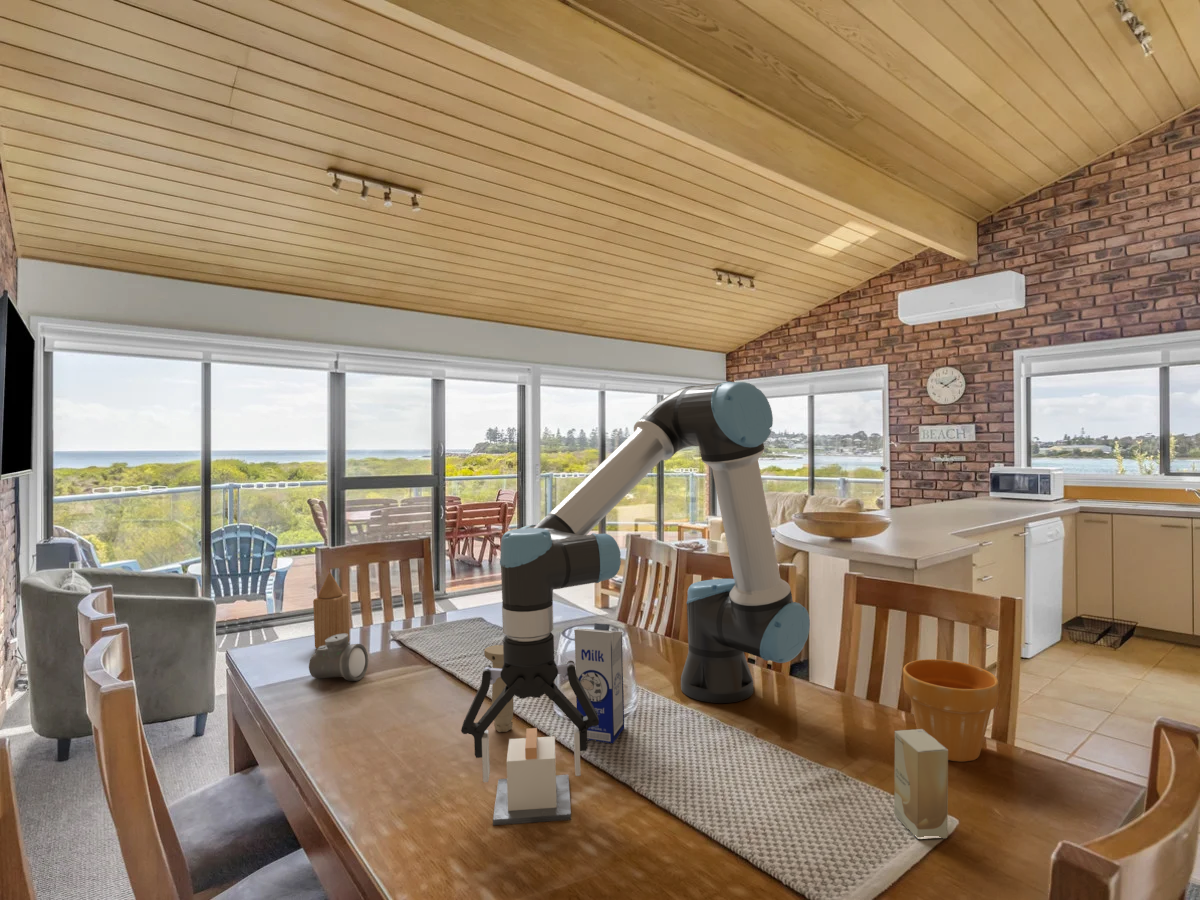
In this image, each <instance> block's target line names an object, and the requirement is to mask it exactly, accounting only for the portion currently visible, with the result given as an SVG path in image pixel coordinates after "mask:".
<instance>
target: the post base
mask: <svg viewBox="0 0 1200 900" xmlns="http://www.w3.org/2000/svg"><path fill="white" fill-rule="evenodd" d="M569 777H570V775H569V774H556V802H557V807H556V808H541V809H527V810H513V811H508V794H507V778H498V781H497V787H496V795H495V803H494V809H493V816H492V817H493V818H492V826H502V825H505V826H506V825H514V824H515V825H516V824H519V825H520V824H528V823H531V824H533V823H545V822H559V821H570V820H572V812H571V811H572V810H571V796H570V795H571V794H570V781H569V780H570V778H569Z"/></svg>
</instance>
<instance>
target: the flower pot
mask: <svg viewBox="0 0 1200 900" xmlns="http://www.w3.org/2000/svg"><path fill="white" fill-rule="evenodd" d="M902 671H903V672H902V677H903V678H902V681H903V690H904V693H905V694H906V695H907V696H908V697H909V699H910V703H911V708H912V712H913V716H914V721H915V727H916V729H923V730H924V731H925V732H927V733H928V734H929V735H930V736H932V737H933V738H935V739H936V740H937V741H938V742H939V743H940V744H941V745H943V746H944V747H945V748H946V749H948V761H952V762H959V763H960V762H961V763H962V762H970V761H976V759H978V758H979V757H980V754H981V751H982V747H983V744H984V740H985V735H986V732H987V728H988V724H989V719H990V716H991V713H992V711H993V710H994V709H995V708H996V707H997V706H998V704H999V703H998V702H999V685H1000V683H999V682H1000V681H999V679H998V677H997V676H995V674H993V673H992V672H990V671H988V670H986V669H984V668H982V667H979V666H976V665H974V664H969V663H964V662H961V661H955V660H948V659H938V658H937V659H936V658H935V659H933V658H932V659H927V658H926V659H918V660H913V661H910V662H908V663H906V664H905V665H904V666H903V668H902Z"/></svg>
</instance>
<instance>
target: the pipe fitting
mask: <svg viewBox="0 0 1200 900" xmlns="http://www.w3.org/2000/svg"><path fill="white" fill-rule="evenodd" d="M349 638H350V636H349V637H348V634H346V633H341V634H337V635H333V636H331V637H329V638H327V639H326V640H325V644H326V645H324V646H320V647H318V648H316V650H315V651H316V652H314V653H313V654H312V656H311V657H310V659H309V663H308V671H309V673H310V676H311V677H312V678H314V679H328V678H341V677H342V678H344V679H345V680H346V681H349V682H358V681H360V680H362V679H363V677H364V676H365V675H366V673H367V671H368V668H369V655H368V651H367V648H366V647H365V645H363V644H362V643H352V644H350V642H348V640H349ZM349 641H350V640H349Z"/></svg>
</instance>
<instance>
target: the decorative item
mask: <svg viewBox="0 0 1200 900" xmlns="http://www.w3.org/2000/svg"><path fill="white" fill-rule="evenodd" d="M320 588H321V589H320V591H319V593H318V595H317V597H316V598H313V601H312V604H313V627H314V628H313V630H314V631H313V632H314V633H313V635H314V648H315V649H318V647H320V646H324V645H326V644H325V640H326V639H327V638H329V637H331V636H333V635H337V634H341V633H346V634H348V637H349V640H348V643H350V639H351V638H350V613H349V610H350V609H349V594H347V593H344V592H343V591H342V588H341V587H340V586H339V584H338V582H337V581H336V579H335V577H334V576H333V575H332V573H331V571H329V572H328V574H327V575H326V578H325V580H324V582H323V585H321V587H320Z"/></svg>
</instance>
